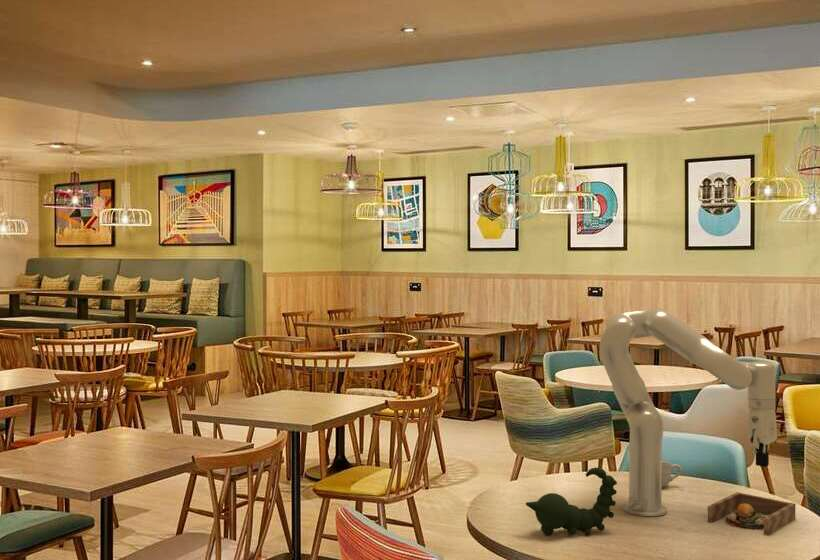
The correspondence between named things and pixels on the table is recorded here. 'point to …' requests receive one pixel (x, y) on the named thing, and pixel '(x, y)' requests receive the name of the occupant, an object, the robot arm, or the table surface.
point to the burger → (745, 518)
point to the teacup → (669, 472)
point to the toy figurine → (575, 509)
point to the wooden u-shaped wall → (755, 510)
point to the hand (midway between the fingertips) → (762, 465)
